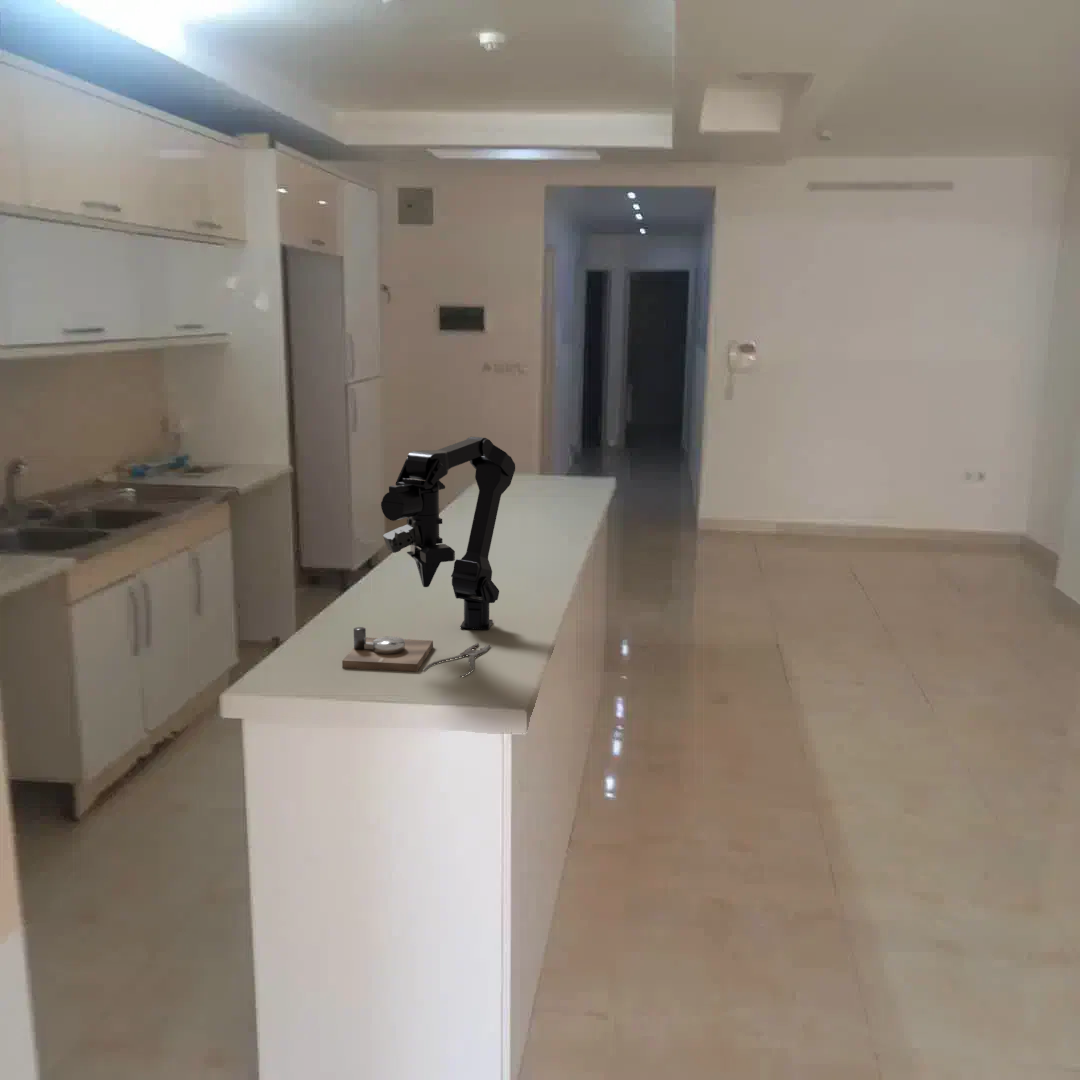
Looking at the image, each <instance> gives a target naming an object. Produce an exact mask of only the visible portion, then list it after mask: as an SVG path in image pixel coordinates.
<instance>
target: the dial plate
mask: <svg viewBox="0 0 1080 1080" xmlns="http://www.w3.org/2000/svg"><path fill="white" fill-rule="evenodd" d="M377 638H378V637H367V636H366V642H372V643H373V641H374V640H375V639H377ZM403 639H404V638H403ZM404 640H405V649H404V650H403V651H402V652H399V653H394V654H381V653H377V652H375V651H374V650H373V649H361V650H358V649H354V647H353V648H352V649H351V650H350V652H348V653H347V654H346V656H344V658H343V659H342V660H341V661H342V665H341V666H342V669H358V670H359V668H360V669H361V670H362V669H363V670H378V669H383V670H382V671H402V672H418V670H419V669H420V668H421V666H422V665H423V663H424V662H425V660H426V659H427V657H428V656H427V655H429V654H430V653H431V651H432V650H433V649H434V641H433V640H431V639H430V640H427V639H406V638H405V639H404ZM431 649H432V650H431ZM429 652H430V653H429ZM425 658H426V659H425ZM423 661H424V662H423Z"/></svg>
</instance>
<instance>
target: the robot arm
mask: <svg viewBox="0 0 1080 1080" xmlns="http://www.w3.org/2000/svg"><path fill="white" fill-rule="evenodd" d="M467 462H469V464H470V465H472V467H473V468H474V469H475V474H474V480H475V482H476V485H477V487H478V495H477V499H476V505H475V509H474V513H473V520H472V523H471V527H470V528H471V529H470V533H469V538H468V543H467V548H466V551H465V553H464V555H463V556H462V558H460V559H459V558H456V553H455V552H456V551H455V550H454V549H453V548H452V547H451V546H449V545H447V544H446V543H443V538H442V537H440V525H441V524H442V525H443V518H441V517H440V496H439V495H440V491H441V490H445V489H446V485H445V484H444V483H443V482H441V479H442V478H444V477H446V476H447V475H448V473H449V470H451V469H452V468H454V467H457V466H460V465H462V464H465V463H467ZM515 471H516V463H515V462H514V459H513V458H512V456H510V455H509V454H508V453H507V452H506V451H504V450H503V449H501V448H500V447H498V446H497V445H495V444H494V443H493V442H492V441H491V440H490V439H489V438H486V437H482V436H481V437H480V436H470V437H467V438H466V439H464V440H462V441H458V442H455V443H453V444H450V445H447V446H445V447H442V448H439V449H435V450H434V449H433V450H432V449H430V450H427V449H426V450H413V451H410V452H409V453H408V454H407V457H406V459H405V461H404V463H403V465H402V468H401V470H400V472H399V474H398V477H397V479H396V480H395V485H389V486H388V492H387V493H385V494H384V495H383V498H382V499H381V502H380V506H381V511H382V513H383V515H384V517H385V518H386V519H387V520H390V521H393V522H394V521H399V520H404V519H406V524H405V525H402V526H399V527H396V528H395V529H392V530H390V531H388V532H386V533H384V534H383V535H382V537H383V539H384V541H385V544H386V547H387V549H388V550H389V551H391V553H394V554H395V553H398V552H401V551H402V550H403V549H405V548H407V547H409V546H410V547H409V548H410V551H406V554H407V555H408V556H410V558H412V559H413V560H414V561H415V564H416V566H417V570H418V574H419V578H420V581H421V586H422V587H423V588H428V587H430V585H431V583H432V581H433V579H434V577H435V575H436V572H437V570H438V569H439V566H440V565H441V563H445V562H454V563H453V571H452V573H451V576H450V577H451V586H452V588H453V589H452V590H453V593H454V597H455V599H459V600H463V621H462V623H461V624H460V627H461V628H474V629H473V630H483V631H484V630H487V631H488V630H490V628H491V626H492V625H491V624H493V623H492V622H494V619H490V604H494V603H496V601H498V599H499V594H500V590H499V588H498V587H497V586H496V584H495V583H494V582H493V581H492V578H493V569H492V566H491V563H490V561H489V555H490V550H491V544H492V541H493V535H494V531H495V527H496V526H495V525H496V522H497V515H498V511H499V506H500V501H501V497H502V495H503V494H504V492H505V491H506V490H507V489H508V488H509V487H510V486H511V484H512V481H513V477H514V474H515ZM460 627H459V628H460ZM461 628H460V629H461Z"/></svg>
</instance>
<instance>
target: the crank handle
mask: <svg viewBox="0 0 1080 1080" xmlns="http://www.w3.org/2000/svg"><path fill="white" fill-rule="evenodd" d="M366 634H367V633H366V627H363V626H357V627H354V628H353V648H354V649H358V650H361V649H373V650H374V651H375V652H377V653H381V654H394V653H399V652H402V651H403V650H404V649H405V640H404V638H402V637H400V636H390V635H389V636H382V637H376V638H377V639H375V640H374V641H373V643H372V642H366V637H367V635H366Z"/></svg>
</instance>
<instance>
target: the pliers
mask: <svg viewBox="0 0 1080 1080" xmlns="http://www.w3.org/2000/svg"><path fill="white" fill-rule="evenodd" d="M478 645H480V644H479V642H476V643H475V644H473V645H472V646H469V647H467V648H466V649H464V650H463V651H462V652H460V653H459V654H458V655H454V656H452V657H447V658H443V659H439V660H436V661H433V662H431V663H429V664H427V665H425V667H424V668H423V669H422V671H425V670H426V669H427V668H428V669H430V668H431V667H433V666H432V665H434V664H436V665H438V664H437V663H439V662H442V661H446V660H450V659H455V658H459V657H463V656H466V655H468V656H469V657H468V663H469V662H470V664H469V666H470V665H471V668H470V667H469V670H468V671H467V672H465V673H463V674H461V675H459V678H460V677H462V676H465V675H466V674H468V673H469V672H471V671H472V670H473V669H474V670H475V668H474V667H475V659H476V658H478V657H479V656H481V655H483V653H484V654H486V653H487V652H488V651H489V650H490V648H491V644H487V645H485V646H484V647H481V648H480V649H479V650H478V649H477V650H476V648H475V647H477V646H478ZM478 647H479V646H478ZM478 647H477V648H478ZM472 649H475V650H472ZM488 649H489V650H488ZM485 652H486V653H485ZM480 654H481V655H480ZM478 655H479V656H478ZM475 657H476V658H475ZM474 658H475V659H474ZM439 664H440V663H439ZM430 666H431V667H430ZM434 666H435V665H434ZM429 667H430V668H429ZM428 669H427V670H428ZM427 670H426V671H427ZM474 670H473V671H474ZM422 671H421V672H422ZM426 671H425V672H426ZM473 671H472V672H473ZM472 672H471V673H472ZM465 677H466V676H465Z"/></svg>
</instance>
